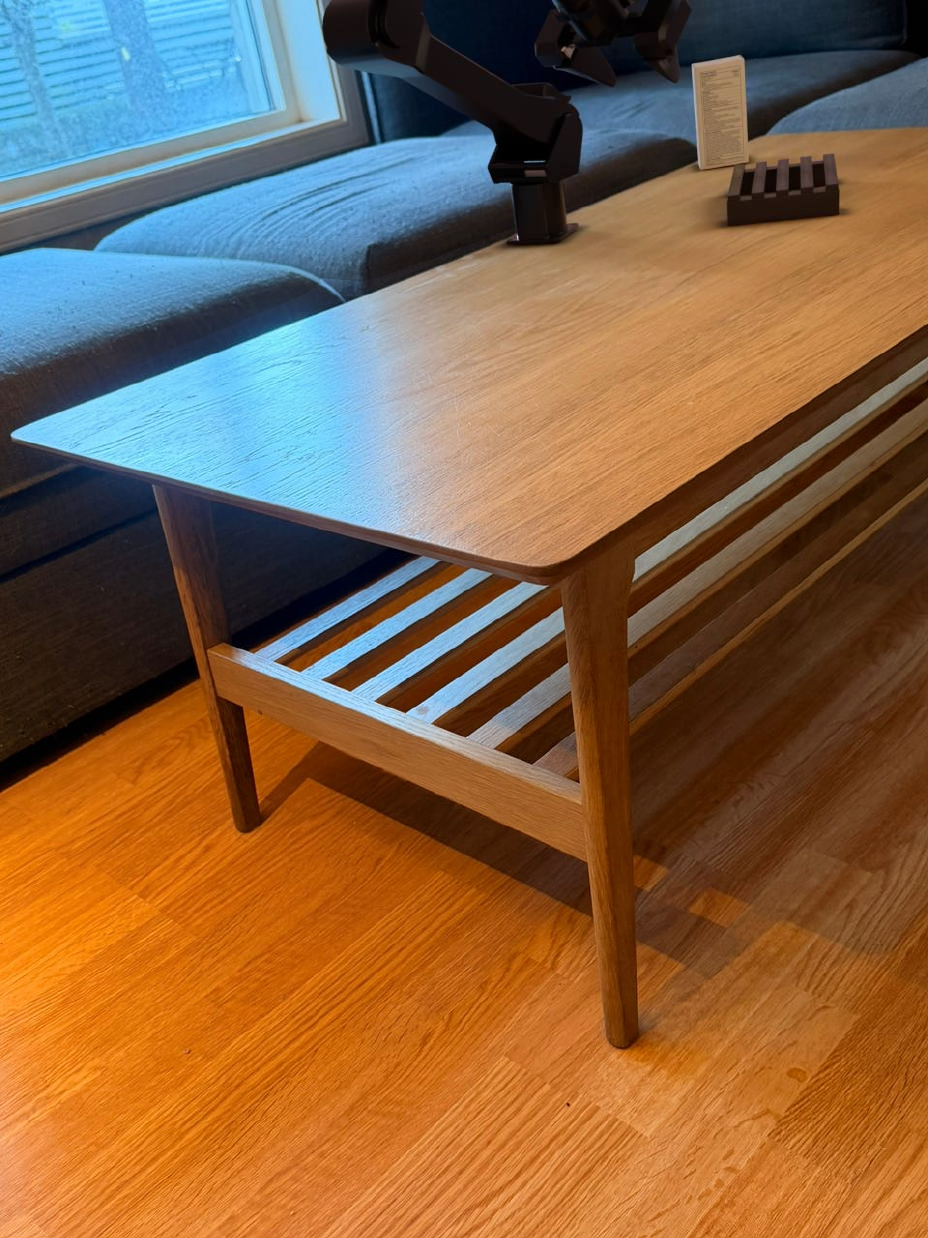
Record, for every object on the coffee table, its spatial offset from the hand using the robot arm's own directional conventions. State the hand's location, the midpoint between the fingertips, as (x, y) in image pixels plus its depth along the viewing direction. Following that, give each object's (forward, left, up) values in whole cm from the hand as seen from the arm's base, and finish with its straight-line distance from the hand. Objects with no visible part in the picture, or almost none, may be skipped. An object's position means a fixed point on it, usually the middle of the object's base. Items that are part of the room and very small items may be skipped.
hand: (645, 81), depth 131 cm
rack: (-11, -18, -12) cm, 24 cm away
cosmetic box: (+14, -5, -12) cm, 19 cm away
